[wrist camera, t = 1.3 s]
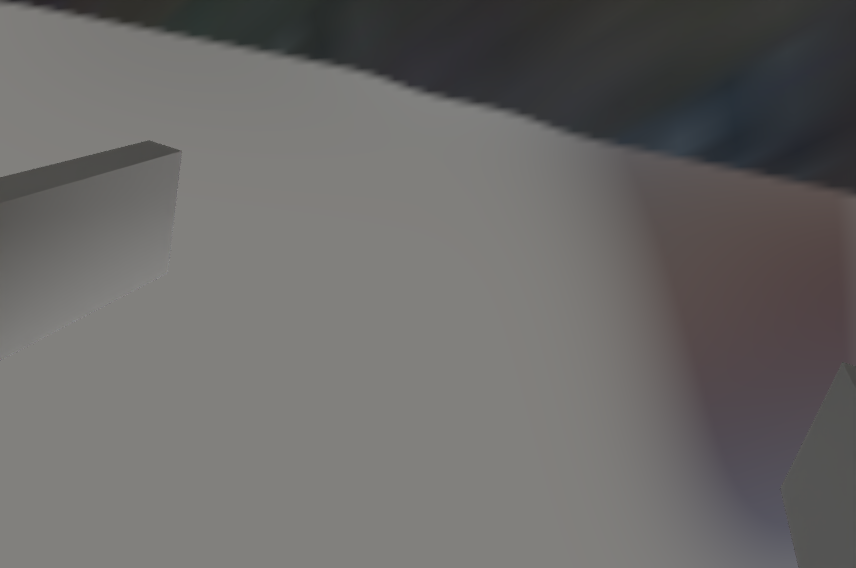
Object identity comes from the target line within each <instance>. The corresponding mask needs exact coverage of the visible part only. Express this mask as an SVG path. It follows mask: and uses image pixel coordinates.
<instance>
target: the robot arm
mask: <svg viewBox="0 0 856 568" xmlns="http://www.w3.org/2000/svg"><path fill="white" fill-rule="evenodd" d="M181 154H182V151H180V150H177V149H174V148H171V147H168V146H165V145H162V144H158V143H155V142H152V141H145V142H141V143H137V144H133V145H129V146H125V147H121V148H117V149H113V150H109V151H105V152H101V153H97V154H93V155H89V156H85V157H81V158H77V159H73V160H69V161H65V162H61V163H57V164H53V165H49V166H45V167H41V168H37V169H33V170H29V171H24V172H20V173H17V174H12V175H9V176H5V177H0V360H2V359H4V358H6V357H8V356H10V355H12V354H14V353H16V352H18V351H19V350H21V349H23V348H25V347H27V346H29V345H31V344H33V343H35V342H37V341H39V340H41V339H43V338H45V337H46V336H48V335H50V334H52V333H54V332H56V331H58V330H60V329H62V328H64V327H66V326H67V325H69V324H71V323H73V322H75V321H77V320H79V319H81V318H83V317H85V316H86V315H88V314H90V313H92V312H94V311H96V310H98V309H100V308H102V307H104V306H106V305H108V304H110V303H112V302H113V301H115V300H117V299H119V298H121V297H123V296H125V295H127V294H129V293H131V292H132V291H134V290H136V289H138V288H140V287H142V286H144V285H146V284H148V283H150V282H151V281H154V280H156V279H157V278H159V277H161V276H163V275H165V274H167V273H168V267H169V259H170V249H171V241H172V232H173V223H174V214H175V206H176V197H177V189H178V180H179V171H180V163H181ZM780 489H781V494H782V498H783V502H784V507H785V511H786V515H787V519H788V524H789V528H790V533H791V537H792V541H793V545H794V550H795V554H796V558H797V563H798V567H799V568H856V366H853V365H850V364H847V363H844V362H843V363H842V364H841V366H840V369H839V371H838V373H837V375H836V376H835V378H834V381H833V383H832V385H831V387H830V389H829V391H828V393H827V395H826V397H825V399H824V401H823V403H822V405H821V407H820V409H819V411H818V413H817V415H816V417H815V419H814V421H813V423H812V425H811V427H810V429H809V431H808V433H807V436H806V438H805V439H804V442H803V443H802V446H801V448H800V450H799V452H798V454H797V456H796V458H795V460H794V462H793V464H792V466H791V468H790V470H789V472H788V474H787V476H786V478H785V480H784V482H783V484H782V486H781V488H780Z"/></svg>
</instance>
